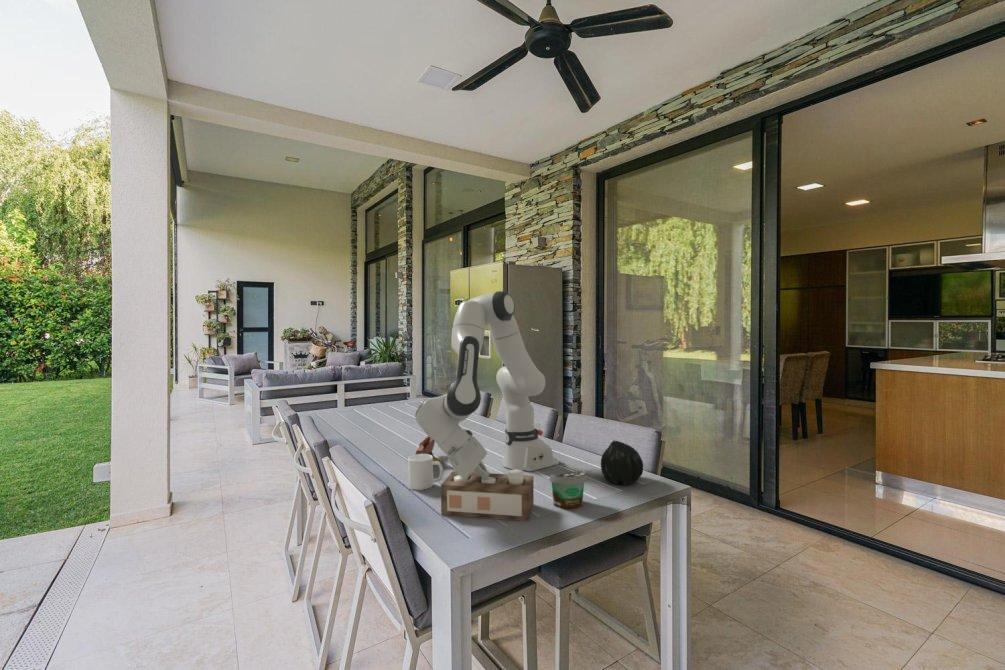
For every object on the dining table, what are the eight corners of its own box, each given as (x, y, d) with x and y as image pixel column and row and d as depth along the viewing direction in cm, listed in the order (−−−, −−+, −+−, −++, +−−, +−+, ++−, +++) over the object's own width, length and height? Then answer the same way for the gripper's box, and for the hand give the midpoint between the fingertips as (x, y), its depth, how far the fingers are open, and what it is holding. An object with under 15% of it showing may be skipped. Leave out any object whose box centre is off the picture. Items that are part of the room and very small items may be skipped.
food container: (559, 513, 136) (559, 480, 135) (549, 506, 141) (549, 474, 141) (594, 506, 141) (594, 474, 140) (583, 499, 146) (583, 468, 146)
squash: (658, 468, 159) (634, 431, 166) (631, 479, 150) (606, 439, 157) (633, 486, 168) (611, 450, 176) (606, 497, 159) (584, 459, 166)
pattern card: (446, 511, 135) (446, 491, 134) (447, 510, 135) (447, 490, 135) (521, 516, 131) (521, 495, 130) (521, 515, 131) (521, 494, 131)
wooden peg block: (441, 514, 136) (440, 484, 135) (452, 498, 148) (452, 471, 147) (528, 521, 131) (528, 490, 131) (533, 504, 143) (533, 475, 143)
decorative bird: (453, 465, 170) (437, 428, 170) (408, 484, 171) (392, 447, 170) (462, 444, 198) (448, 412, 198) (423, 460, 199) (409, 429, 198)
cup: (413, 481, 164) (412, 453, 163) (446, 482, 162) (445, 454, 162) (405, 490, 156) (405, 460, 155) (440, 491, 154) (439, 461, 154)
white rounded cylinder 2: (507, 490, 136) (507, 473, 136) (510, 485, 140) (510, 469, 140) (522, 491, 135) (522, 474, 135) (524, 486, 139) (524, 469, 139)
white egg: (452, 495, 139) (452, 479, 139) (456, 490, 143) (456, 474, 143) (466, 496, 138) (466, 480, 138) (470, 491, 142) (469, 475, 142)
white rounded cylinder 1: (479, 497, 137) (479, 481, 137) (483, 492, 142) (482, 476, 142) (494, 498, 137) (494, 482, 136) (497, 493, 141) (496, 477, 141)
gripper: (453, 446, 130) (487, 482, 128) (471, 428, 150) (501, 460, 148) (438, 460, 131) (472, 497, 129) (458, 441, 151) (487, 472, 149)
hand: (487, 477), depth 139 cm, fingers closed
